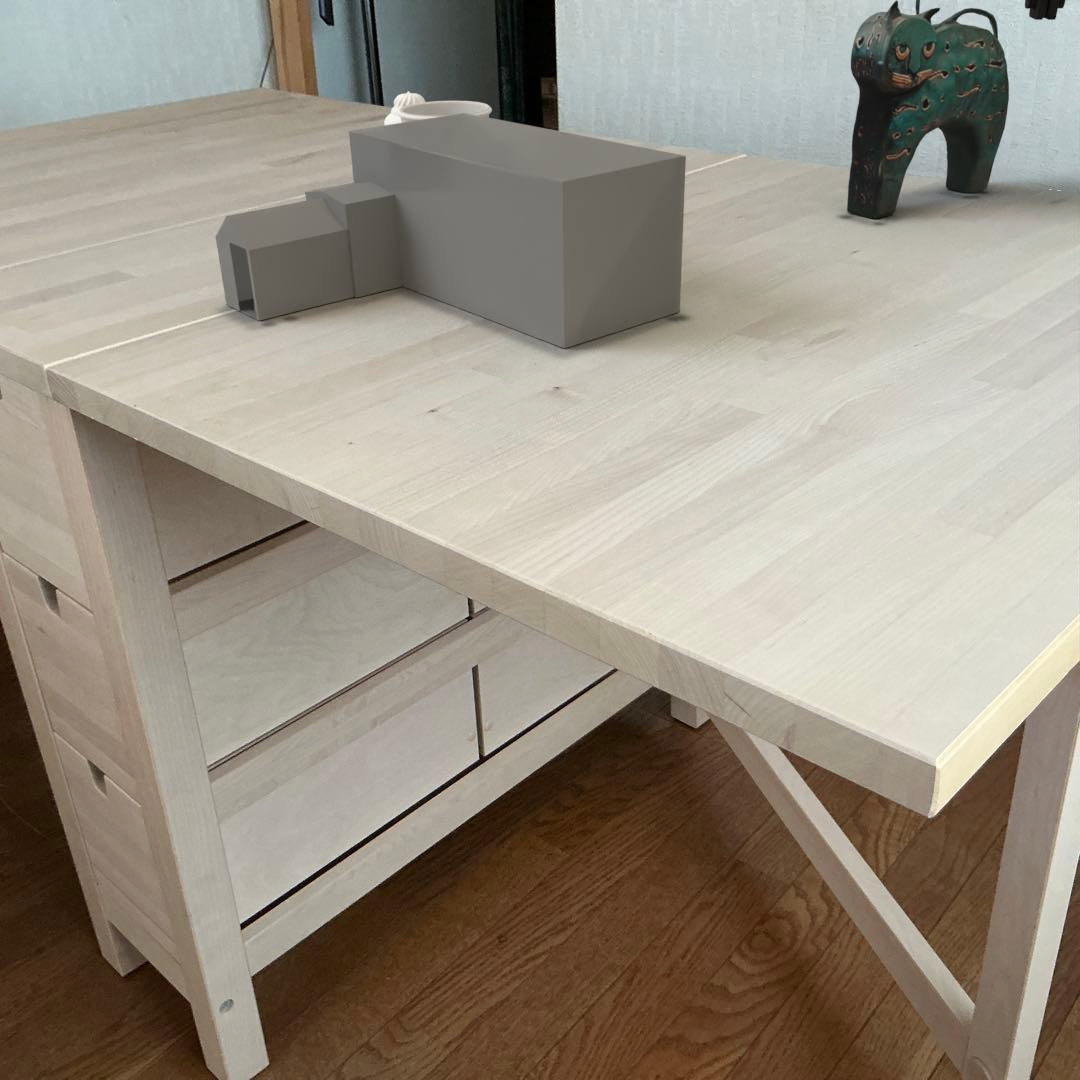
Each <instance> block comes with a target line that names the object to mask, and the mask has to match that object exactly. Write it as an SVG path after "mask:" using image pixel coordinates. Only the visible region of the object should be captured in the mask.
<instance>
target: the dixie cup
mask: <svg viewBox="0 0 1080 1080" xmlns="http://www.w3.org/2000/svg"><path fill="white" fill-rule="evenodd" d="M492 111H493V109H492V107H491V106H490V105H489V104H487V103H485V102H481V101H473V100H472V101H471V100H436V101H435V100H433V101H425V102H424V103H417V104H411V105H407V106H404V107H402V108H401V109H400V110H399V111H398V116H399V117H401V122H402V123H404V122H410V121H416V120H423V119H429V118H435V117H442V116H448V115H454V114H461V113H467V114H472V115H477V116H483V117H488V118H490V114H491V113H492Z"/></svg>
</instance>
